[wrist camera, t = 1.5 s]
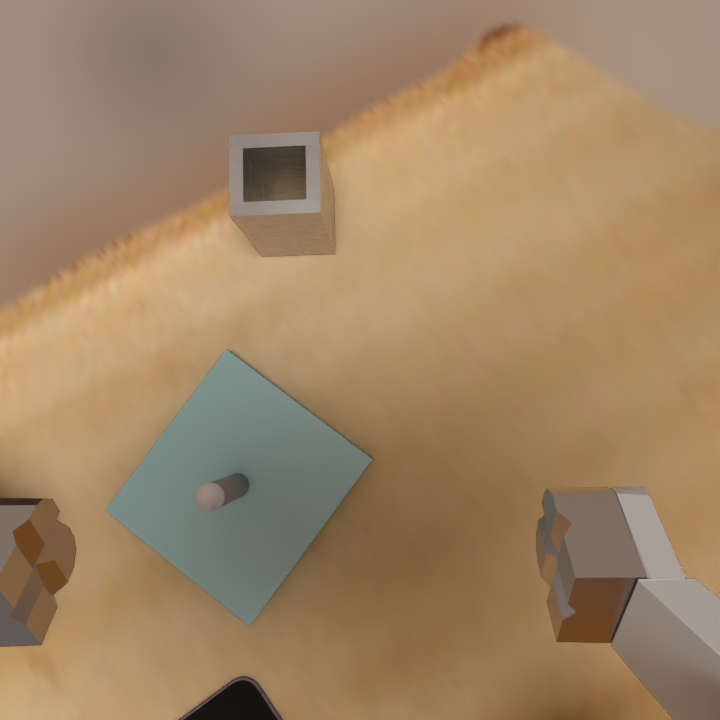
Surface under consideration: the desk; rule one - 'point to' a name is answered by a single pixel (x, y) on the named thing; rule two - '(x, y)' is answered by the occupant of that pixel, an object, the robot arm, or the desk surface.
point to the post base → (238, 486)
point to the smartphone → (236, 703)
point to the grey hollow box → (282, 193)
